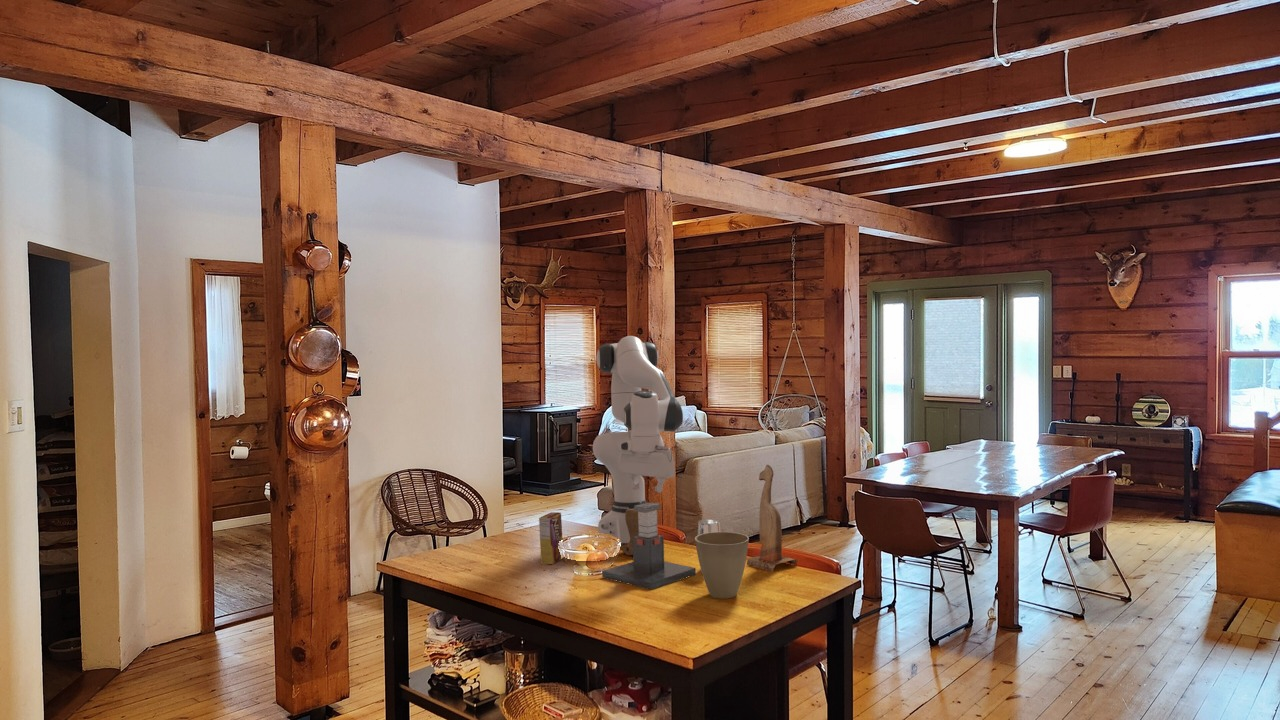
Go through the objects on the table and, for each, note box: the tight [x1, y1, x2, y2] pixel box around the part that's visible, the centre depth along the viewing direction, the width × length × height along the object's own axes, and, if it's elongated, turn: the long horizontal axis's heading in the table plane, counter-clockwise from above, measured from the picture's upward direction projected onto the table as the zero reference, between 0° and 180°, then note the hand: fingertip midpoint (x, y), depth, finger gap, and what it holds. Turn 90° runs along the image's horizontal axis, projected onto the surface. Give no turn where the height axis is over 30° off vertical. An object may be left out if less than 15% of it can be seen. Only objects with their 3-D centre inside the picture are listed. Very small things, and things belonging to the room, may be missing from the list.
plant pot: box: [694, 531, 750, 600], centre depth 227 cm, size 15×15×16 cm
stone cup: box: [620, 509, 639, 556], centre depth 279 cm, size 15×12×15 cm
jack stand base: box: [601, 534, 697, 591], centre depth 248 cm, size 20×20×12 cm
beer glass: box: [697, 518, 722, 571], centre depth 254 cm, size 7×7×15 cm
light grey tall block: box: [634, 502, 662, 539], centre depth 248 cm, size 4×7×19 cm, turn 136°
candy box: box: [538, 511, 563, 565], centre depth 269 cm, size 9×4×15 cm, turn 160°
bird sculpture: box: [746, 464, 798, 573], centre depth 257 cm, size 11×12×32 cm
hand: (647, 490), depth 248 cm, fingers open, 8 cm apart
